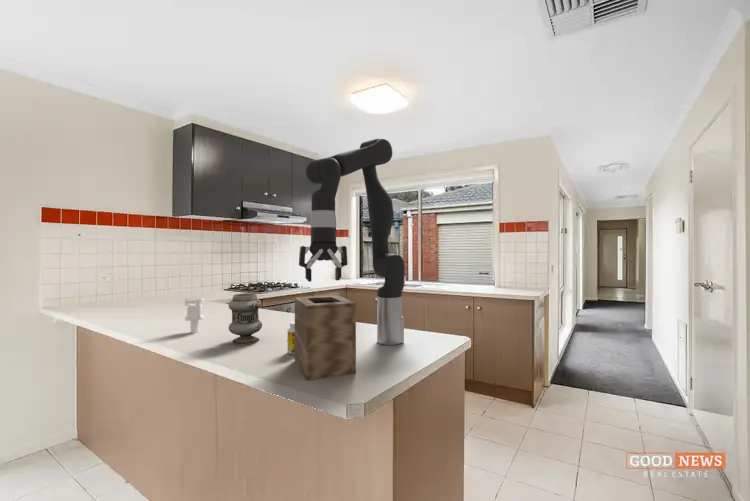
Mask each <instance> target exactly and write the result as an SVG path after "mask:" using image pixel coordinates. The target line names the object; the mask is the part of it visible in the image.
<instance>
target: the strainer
mask: <svg viewBox="0 0 750 501" xmlns="http://www.w3.org/2000/svg"><path fill="white" fill-rule="evenodd" d="M184 299H185V300H184V304H185V305H184V306H185V307H186V316H184V320H185V321H188V322H190V334H196V333H199V332H200V331H199V328H200V327H199V323H200V322H199V321H201V320H204V318H205V316H204V315H203V314H202V313H203V306H202V304H201V303H204V301H205V299H204V298H203V297H201V298H200V297H199V298H198V297H195V298H194V296H188V297H185V298H184Z"/></svg>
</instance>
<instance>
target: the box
mask: <svg viewBox="0 0 750 501" xmlns="http://www.w3.org/2000/svg"><path fill="white" fill-rule="evenodd" d="M356 306H357V303H356V302H354V301H352V300H349V299H348V298H345V297H343V296H341V295H337V294H335V295H334V294H333V295H332V294H331V295H318V296H317V295H315V296H313V295H311V296H298V297H297V296H296V297H294V322H295V354H294V362H295V363H296V365H297V367H298V369H299V370H300V372H301V373H302V375H303V377H304V378H305V380H306V381H310V380H319V379H325V378H331V377H333V378H334V377H340V376H346V375H352V374H356V373H357V348H356V347H357V336H356V335H357V330H356V329H357V324H356V323H357V315H356V314H357V307H356Z"/></svg>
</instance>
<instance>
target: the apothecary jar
mask: <svg viewBox="0 0 750 501" xmlns="http://www.w3.org/2000/svg"><path fill="white" fill-rule="evenodd" d="M261 306H262V301H261V300H260V299H258V295H257V293H255V292H246V293H245V292H243V293H236V294H233V296H232V299H231V300H230V301H229V303H228V309H229V310H230V311H231V322H230V323H229V324H228V331H229V332H230V333H231V334H233V335H235V336H239V337H235V338H234V339H233V340H232V341H231V343H232V344H233V345H237V346H242V345H243V346H245V345H252V344H256V343H258V342H260V338H259V337H257V336H254V334H256V333H258V332H259V331H261V329H262V328H263V323H262V321H260V318H259V317H260V316H259V309H260V308H261Z"/></svg>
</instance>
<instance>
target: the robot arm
mask: <svg viewBox="0 0 750 501" xmlns="http://www.w3.org/2000/svg"><path fill="white" fill-rule="evenodd" d="M392 158H393V148H392V144H391V142H390V141H389V140H388V139H386V138H383V137H380V138H379V137H378V138H373V139H370V140H367V141H364V142H362V143H361V144H360V146H359V147H358V148H356V149H351V150H347V151H343V152H340V153H337V154H334V155H332V156H329V157H324V158H319V159H315V160H314V159H313V161H310V162H309V163H308V164H307V166H306V168H305V175H306V178H307V180H308V181H309V182H311V183H312V184H315V185H321V186H320V188H319V189H318V190H316V191H314V192H312V194H311V214H310V245H309V246H304V245H301V246H299V255H298V258H299V259H298V266H299V267H302V268H304V270H305V280H307V282H312V266H313V265H314V264H315V263H316V261H319V262H320V261H331V262H332V263H333V264H334V266H335V268H334V269H335V270H334V277H335V278H334V279H335V281H340V279H341V278H342V268H344V267H345V266H348V263H349V262H348V251H347V250H348V248H347V246H346V245H341V246H338V245H337V217H336V197H337V193H338V188H339V185H340V181H341V177H346V176H347V175H350V174H352V173H355V172H357V171H359V170H362V175H363V180H364V185H365V192H366V198H367V199H366V200H367V210H368V211H367V212H368V218H369V224H370V235H371V236H370V237H371V243H372V244H371V247H372V248H371V249H372V250H371V251H372V268H373V272H374V273H375V275H376V276H377V277H379V278H383V279H384V284H383V285H382V286H381V287H378V289H377V293H376V294H377V295H376V296H377V297H376V301H377V302H376V303H377V304H376V305H377V306H376V307H377V308H376V309H377V310H376V312H377V313H376V314H377V315H376V316H377V318H376V319H377V320H376V325H377V326H376V328H377V329H376V330H377V331H376V335H377V336H376V339H377V340H376V342H377V343H378V344H380V345H385V346H386V345H388V346H392V345H394V346H396V345H401V344H402V343H404V342H405V317H404V316H403V315H402V314H403V313H402V311H403V310H402V309H403V305H402V303H403V301H402V300H403V297H402V296H403V291H404V289H405V288H404V286H405V269H406V268H405V261H404V259H403V257H402V255H400V254H397V253H390V249H389V237H390V233H391V230H392V227H393V223H394V219H395V214H394V206H393V199H392V197H391V196H390V194H389V192H387V190H386V189H385V186H383V184H382V183H381V182H380V179H379V177H378V172H377V166H381V165H386V164H387V163H389V162H390V161H391V159H392ZM308 252H310V254H311V256H310V258H309V259H308V260H307V261H306V255H307V254H308ZM337 252H338V253H339V254H340V261H339V259H338V257H337V256H336V254H337ZM305 261H306V262H305Z"/></svg>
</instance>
